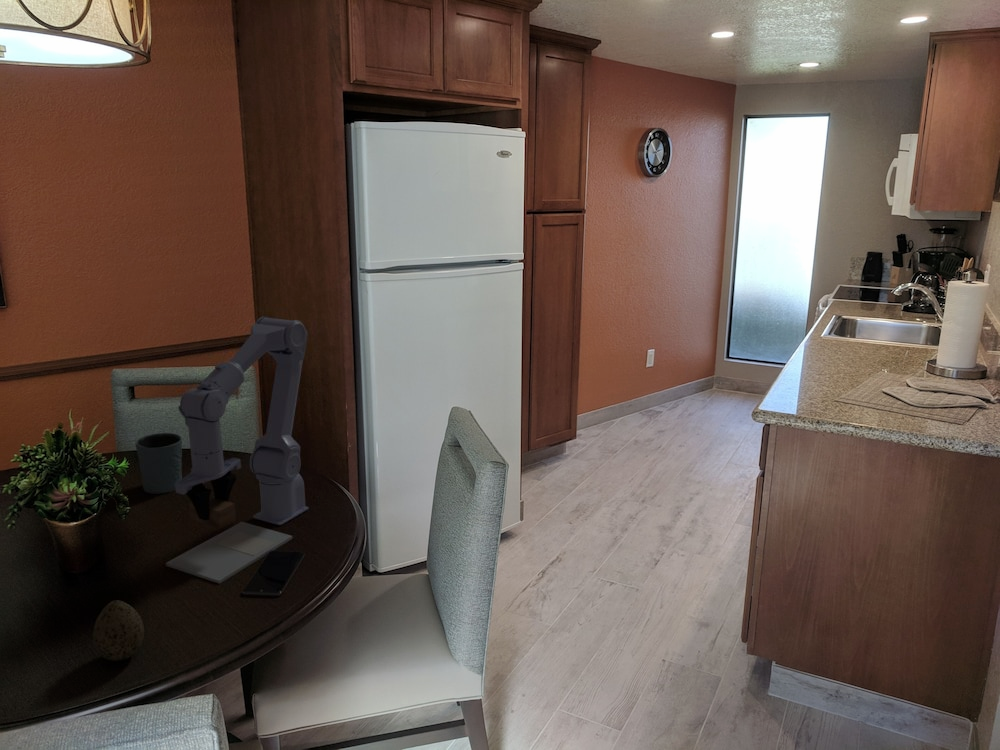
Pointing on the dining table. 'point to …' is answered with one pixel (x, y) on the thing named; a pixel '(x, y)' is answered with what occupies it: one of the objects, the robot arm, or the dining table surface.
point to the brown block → (216, 513)
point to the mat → (229, 552)
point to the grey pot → (160, 461)
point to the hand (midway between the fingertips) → (213, 514)
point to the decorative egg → (118, 631)
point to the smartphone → (273, 573)
